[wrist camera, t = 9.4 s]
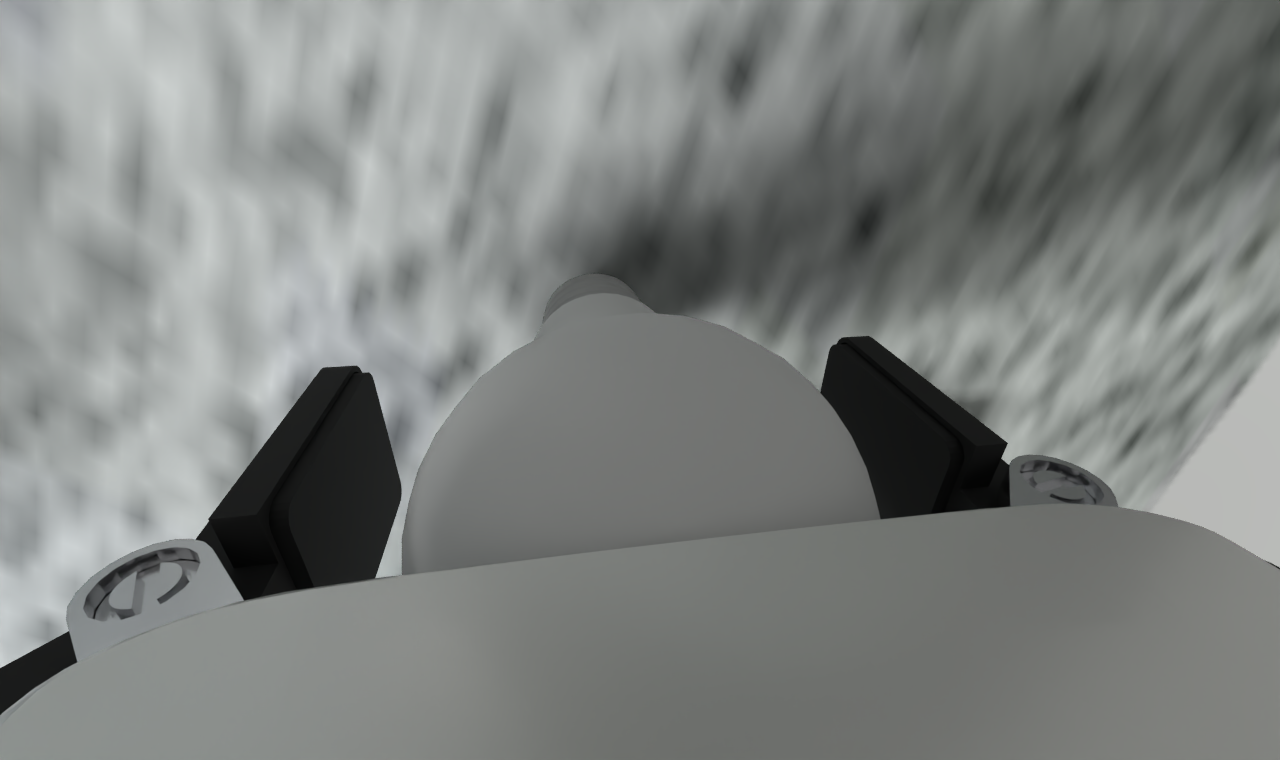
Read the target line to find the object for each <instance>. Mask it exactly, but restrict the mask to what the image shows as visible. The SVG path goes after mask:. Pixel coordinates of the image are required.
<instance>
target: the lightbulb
mask: <svg viewBox="0 0 1280 760" xmlns="http://www.w3.org/2000/svg"><path fill="white" fill-rule="evenodd" d="M870 520H880V515H879V511H878V506H877V502H876V498H875V495H874V491H873V488H872V485H871V481H870V478H869V475H868V471H867V468H866V466H865V464H864V462H863V459H862V457H861V455H860V453H859V451H858V449H857V447H856V445H855V442H854V440H853V438H852V436H851V434H850V433H849V431H848V430H847V428H846V427H845V425H844V424H843V422H842V421H841V419H840V418H839V416H838V415H837V413H836V412H835V410H834V409H833V407H832V406H831V405H830V404H829V402H828V401H827V400H826V399H825V398H824V397H823V396H822V394H821V393H820V392H819V391H818V390H817V389H816V387H815V386H814V385H813V384H812V383H811V382H810V381H809V380H808V379H806V378H805V377H804V376H803V375H802V374H801V373H800V372H798V371H797V370H796V369H795V368H794V367H793V366H792V365H790V364H789V363H788V362H787V361H786V360H785V359H783V358H782V357H780V356H778V355H776V354H775V353H773V352H771V351H769V350H767V349H766V348H764V347H762V346H760V345H759V344H757V343H755V342H753V341H751V340H749V339H747V338H745V337H743V336H741V335H740V334H738V333H736V332H734V331H732V330H730V329H728V328H726V327H724V326H721V325H717V324H713V323H710V322H706V321H702V320H699V319H695V318H691V317H688V316H681V315H667V314H656V313H655V312H654V311H653V310H651V309H650V308H649V307H648V306H646V305H645V304H643V303H642V302H641V300H640V299H639V298H638V297H637V296H636V294H635V293H634V292H633V290H632V289H631V288H630V287H629V286H628V285H627V284H625V283H624V282H623V281H621V280H619V279H617V278H615V277H613V276H609V275H605V274H596V273H593V274H584V275H581V276H577V277H574V278H572V279H570V280H568V281H567V282H565V283H564V284H562V285H561V286H560V287H559V288H558V289H557V290H556V291H555V292H554V293H553V295H552V296H551V298H550V300H549V302H548V303H547V306H546V310H545V314H544V317H543V325H542V326H541V327H540V329H539V331H538V333H537V335H536V337H535V339H534V341H533V342H531V343H529V344H527V345H525V346H523V347H521V348H519V349H517V350H515V351H513V352H512V353H511V354H510V355H508V356H507V357H506V358H504V359H503V360H502V361H501V362H499V363H498V364H497V365H496V366H494V367H493V368H492V369H491V370H489V371H488V372H487V373H485V374H484V375H483V376H482V377H480V378H479V380H478V381H477V382H476V383H475V384H474V386H473V387H472V388H471V389H470V390H469V392H468V393H467V394H466V395H465V396H464V398H463V399H462V400H461V401H460V402H459V404H458V405H457V406H456V407H455V408H454V410H453V411H452V413H451V414H450V415H449V417H448V418H447V420H446V421H445V422H444V424H443V425H442V426H441V428H440V429H439V431H438V432H437V433H436V435H435V437H434V439H433V441H432V443H431V445H430V447H429V449H428V451H427V453H426V455H425V457H424V459H423V461H422V463H421V465H420V467H419V469H418V472H417V476H416V479H415V483H414V486H413V489H412V493H411V496H410V500H409V504H408V509H407V514H406V520H405V525H404V530H403V535H402V575H407V574H416V573H424V572H432V571H441V570H449V569H457V568H465V567H473V566H481V565H490V564H498V563H506V562H514V561H522V560H530V559H539V558H547V557H555V556H563V555H571V554H580V553H588V552H596V551H605V550H613V549H622V548H630V547H639V546H647V545H656V544H664V543H673V542H682V541H690V540H699V539H707V538H716V537H725V536H734V535H742V534H751V533H760V532H769V531H778V530H787V529H797V528H806V527H815V526H824V525H833V524H842V523H852V522H861V521H870Z"/></svg>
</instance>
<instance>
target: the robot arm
mask: <svg viewBox="0 0 1280 760" xmlns="http://www.w3.org/2000/svg"><path fill="white" fill-rule="evenodd" d="M820 393H821V394H822V396H823V397H824V398H825V399H826V400H827V401H828V402H829V404H830V405H831V406H832V407H833V409H834V410H835V412H836V413H837V415H838V416H839V418H840V419H841V421H842V422H843V424H844V425H845V427H846V428H847V430H848V431H849V433H850V434H851V436H852V438H853V440H854V442H855V445H856V447H857V449H858V451H859V453H860V455H861V457H862V459H863V462H864V464H865V466H866V468H867V471H868V475H869V478H870V481H871V485H872V488H873V491H874V495H875V498H876V502H877V506H878V511H879V515H880V520H870V521H861V522H852V523H842V524H833V525H824V526H815V527H806V528H797V529H787V530H778V531H769V532H760V533H751V534H742V535H734V536H725V537H716V538H707V539H699V540H690V541H682V542H673V543H664V544H656V545H647V546H639V547H630V548H622V549H613V550H605V551H596V552H588V553H580V554H571V555H563V556H555V557H547V558H539V559H530V560H522V561H514V562H506V563H498V564H490V565H481V566H473V567H465V568H457V569H449V570H441V571H432V572H424V573H416V574H407V575H399V576H391V577H382V578H375V577H376V574H377V571H378V568H379V565H380V562H381V559H382V556H383V553H384V550H385V547H386V544H387V541H388V537H389V534H390V531H391V528H392V525H393V522H394V519H395V516H396V513H397V510H398V507H399V504H400V501H401V482H400V478H399V474H398V471H397V467H396V463H395V459H394V455H393V452H392V448H391V444H390V440H389V437H388V433H387V429H386V425H385V421H384V418H383V414H382V410H381V406H380V402H379V399H378V395H377V391H376V387H375V384H374V380H373V377H372V375H371V374H370V373H362V371H361V370H360V368H359V367H358V366H343V367H326V368H322V369H321V370H320V371H319V373H318V374H317V375H316V377H315V378H314V379H313V381H312V382H311V383H310V385H309V386H308V387H307V389H306V390H305V391H304V393H303V394H302V395H301V397H300V398H299V399H298V401H297V402H296V403H295V405H294V406H293V407H292V409H291V410H290V411H289V413H288V414H287V415H286V417H285V418H284V419H283V421H282V422H281V423H280V425H279V426H278V427H277V429H276V430H275V431H274V433H273V434H272V435H271V437H270V438H269V439H268V441H267V442H266V443H265V445H264V446H263V447H262V449H261V450H260V451H259V452H258V454H257V455H256V456H255V458H254V459H253V460H252V462H251V463H250V464H249V466H248V467H247V468H246V470H245V471H244V472H243V474H242V475H241V476H240V478H239V479H238V480H237V482H236V483H235V484H234V486H233V487H232V488H231V490H230V491H229V492H228V494H227V495H226V496H225V498H224V499H223V500H222V502H221V503H220V504H219V506H218V507H217V508H216V510H215V511H214V512H213V514H212V515H211V516H210V518H209V522H208V524H207V525H206V526H205V528H204V529H203V530H202V532H201V533H200V534H199V536H198V537H197V538H196V540H194V539H174V540H169V541H165V542H161V543H156V544H152V545H150V546H147V547H144V548H142V549H139V550H137V551H134V552H131V553H129V554H128V555H126V556H124V557H122V558H120V559H118V560H116V561H114V562H112V563H111V564H109V565H108V566H106V567H105V568H103V569H102V570H101V571H99V572H98V573H96V574H95V575H94V576H92V577H91V578H90V579H89V580H88V581H87V582H86V583H85V584H84V585H83V586H82V587H81V588H80V589H79V590H78V591H77V592H76V593H75V595H74V596H73V598H72V600H71V601H70V603H69V605H68V606H67V615H66V621H67V625H68V629H69V631H68V632H67V633H65V634H63V635H61V636H59V637H57V638H55V639H54V640H52V641H50V642H48V643H46V644H44V645H43V646H41V647H39V648H37V649H35V650H33V651H31V652H30V653H28V654H26V655H24V656H22V657H20V658H18V659H17V660H15V661H13V662H11V663H9V664H7V665H5V666H4V667H2V668H0V760H1280V568H1279V567H1277V566H1275V565H1274V564H1272V563H1269V562H1267V561H1265V560H1263V559H1261V558H1259V557H1258V556H1256V555H1254V554H1253V553H1251V552H1249V551H1247V550H1246V549H1244V548H1242V547H1240V546H1239V545H1237V544H1236V543H1234V542H1232V541H1230V540H1228V539H1226V538H1225V537H1223V536H1221V535H1219V534H1217V533H1215V532H1213V531H1210V530H1208V529H1206V528H1204V527H1201V526H1198V525H1195V524H1192V523H1188V522H1185V521H1182V520H1178V519H1174V518H1170V517H1166V516H1162V515H1158V514H1154V513H1149V512H1143V511H1138V510H1132V509H1127V508H1120V507H1118V504H1117V501H1116V497H1115V495H1114V494H1113V492H1112V490H1111V488H1109V487H1108V486H1107V485H1106V484H1105V483H1104V482H1103V481H1102V480H1101V479H1099V478H1098V477H1096V476H1095V475H1093V474H1092V473H1090V472H1089V471H1087V470H1085V469H1083V468H1081V467H1079V466H1076V465H1074V464H1072V463H1069V462H1066V461H1063V460H1060V459H1057V458H1053V457H1048V456H1043V455H1023V456H1018V457H1016V458H1015V459H1013V460H1012V461H1011V463H1010V465H1008V464H1007V463H1006V462H1005V461H1003V460H1002V459H1001V458H1002V455H1003V453H1004V451H1005V448H1006V446H1007V444H1008V443H1007V442H1006V441H1004V440H1003V439H1002V438H1000V437H999V436H998V435H997V434H995V433H994V432H993V431H991V430H990V429H989V428H988V427H986V426H985V425H984V424H982V423H981V422H980V421H979V420H977V419H976V418H975V417H973V416H972V415H971V414H970V413H968V412H967V411H966V410H964V409H963V408H962V407H961V406H959V405H958V404H957V403H955V402H954V401H953V400H951V399H950V398H949V397H948V396H946V395H945V394H944V393H942V392H941V391H940V390H939V389H937V388H936V387H935V386H933V385H932V384H931V383H930V382H928V381H927V380H926V379H924V378H923V377H922V376H921V375H919V374H918V373H917V372H915V371H914V370H913V369H912V368H910V367H909V366H908V365H906V364H905V363H904V362H903V361H901V360H900V359H899V358H897V357H896V356H895V355H893V354H892V353H891V352H890V351H888V350H887V349H886V348H884V347H883V346H882V345H881V344H879V343H878V342H877V341H875V340H874V339H873V338H871V337H869V336H861V337H844V338H841V339H840V340H839V341H838V343H837V345H833V346H832V347H831V348H830V351H829V355H828V359H827V364H826V369H825V373H824V378H823V383H822V387H821V392H820Z"/></svg>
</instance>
